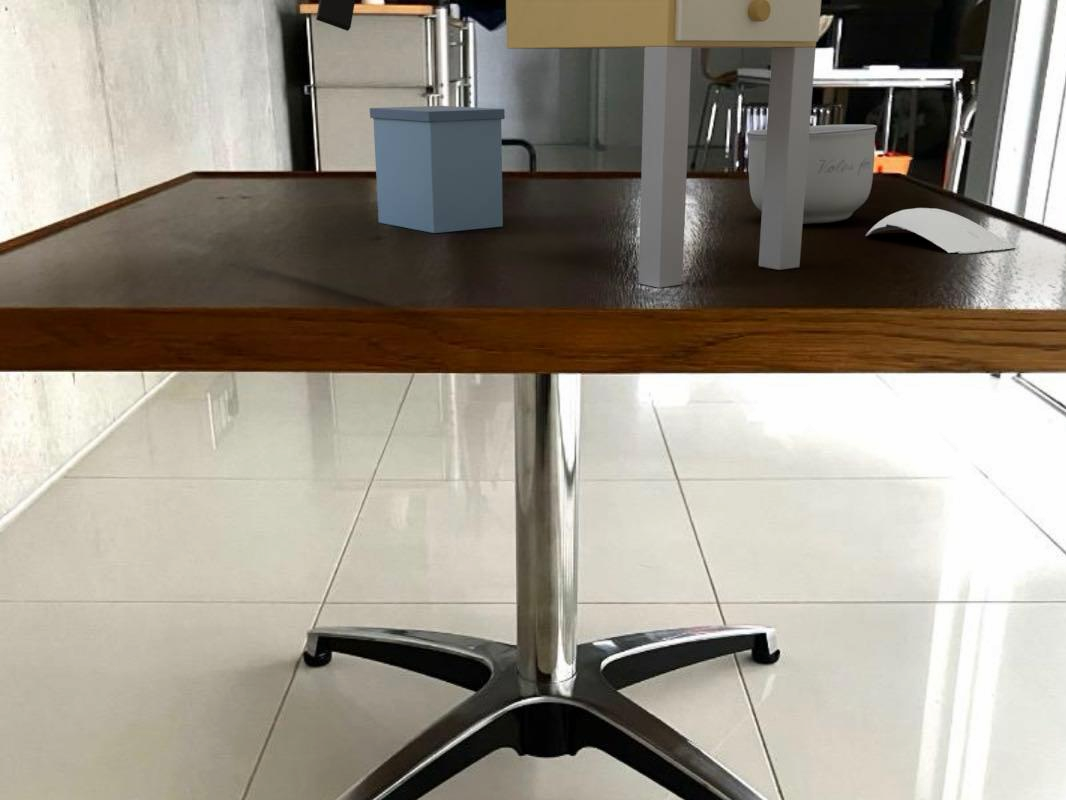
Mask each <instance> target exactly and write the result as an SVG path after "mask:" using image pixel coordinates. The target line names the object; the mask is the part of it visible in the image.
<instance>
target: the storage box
mask: <svg viewBox="0 0 1066 800" xmlns="http://www.w3.org/2000/svg"><path fill="white" fill-rule="evenodd" d="M505 114H506V113H505V108H496V107H495V108H492V107H475V106H473V107H472V106H453V105H427V106H426V105H425V106H423V105H422V106H393V107H392V106H391V107H390V106H389V107H388V106H387V107H369V118H370V119H373V136H374V140H373V141H374V156H375V176H376V178H375V179H376V196H377V197H376V198H377V215H378V223H379V224H384V225H387V226H393V227H394V226H395V227H400V228H404V229H410V230H414V231H420V232H425V233H431V234H442V233H453V232H461V231H471V230H482V229H491V228H493V229H494V228H500V227H501V228H502V227H503V226H504V220H503V219H504V216H503V215H504V212H503V211H504V210H503V157H502V156H503V146H502V145H503V144H502V142H503V139H502V120H505V117H506V116H505Z"/></svg>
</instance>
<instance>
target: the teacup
mask: <svg viewBox="0 0 1066 800" xmlns="http://www.w3.org/2000/svg"><path fill="white" fill-rule="evenodd" d="M877 130H878V125H875V124H865V123H864V124H862V123H861V124H855V123H853V124H851V123H850V124H849V123H848V124H845V123H844V124H822V125H819V124H818V125H810V130H809V144H808V157H807V171H806V184H805V198H804V212H803V225H808V224H809V225H810V224H825V223H826V224H827V223H835V222H842V221H844V220H847V219H849V218H850V217H852V216H853V213H854V212H855V211H857V210H858V209H859V208H861V206H863V205H864V203H865V202H866V201H867V200H868V199H869V196H870V194H871V190H872V186H873V180H874V179H873V178H874V167H875V147H876V146H875V145H876V133H877ZM746 137H747V139H748V182H749V184H748V185H749V194H750V197H751V201H752V203H753V205H754V206H755V207H756V208H757V209H758V210H759V211H761V212H762V202H763V185H764V169H765V153H766V137H767V128H764V129H754V130H749V131H747V133H746Z"/></svg>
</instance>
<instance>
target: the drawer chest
mask: <svg viewBox="0 0 1066 800" xmlns="http://www.w3.org/2000/svg"><path fill="white" fill-rule="evenodd" d="M821 8H822V0H505V17H506V19H505V21H506V23H505V24H506V27H505V28H506V49H507V50H509V49H511V50H513V49H514V50H515V49H517V50H518V49H519V50H520V49H521V50H523V49H524V50H526V49H527V50H529V49H530V50H532V49H533V50H534V49H535V50H538V49H540V50H544V49H545V50H549V49H550V50H552V49H553V50H555V49H556V50H559V49H560V50H563V49H564V50H566V49H567V50H585V49H586V50H605V49H606V50H611V49H612V50H644V56H643V57H644V60H643V61H644V62H643V92H642V93H643V96H642V99H643V101H642V133H641V135H642V136H641V173H640V174H641V175H640V180H641V181H640V211H639V212H640V214H639V248H638V250H639V251H638V252H639V253H638V254H639V255H638V284H639V285H643V286H647V287H648V286H649V287H654V288H658V289H661V288H669V287H674V286H675V287H676V286H681V285H683V279H684V278H683V277H684V275H683V274H684V251H685V248H684V247H685V223H686V199H687V197H686V196H687V195H686V194H687V175H688V174H687V173H688V172H687V171H688V150H689V149H688V147H689V126H690V125H689V123H690V122H689V121H690V97H691V95H690V94H691V74H692V73H691V72H692V71H691V70H692V49H746V48H747V49H753V48H754V49H756V48H757V49H758V48H771V57H770V72H769V74H770V75H769V90H768V104H767V105H768V106H767V121H766V129H767V137H766V153H765V169H764V185H763V202H762V211H761V218H760V219H761V221H760V234H759V251H758V252H759V254H758V267H759V268H765V269H770V270H776V271H783V270H790V269H796V268H800V265H801V264H800V263H801V252H802V250H801V249H802V240H803V239H802V238H803V237H802V236H803V225H804V224H803V212H804V198H805V184H806V171H807V157H808V144H809V130H810V126H811V117H812V101H813V91H814V90H813V88H814V75H815V62H816V61H815V60H816V47H817V43H818V42H819V37H820V22H821V21H820V20H821V10H822V9H821Z"/></svg>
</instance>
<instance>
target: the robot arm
mask: <svg viewBox="0 0 1066 800" xmlns="http://www.w3.org/2000/svg"><path fill="white" fill-rule="evenodd" d="M355 5H356V0H319V1H318V5H317V12H316V16H315V17H316V18H315V20H316V21H319V22H322V23H324V24H327V25H330V26H333V27H336V28H338V29H341V30H343V31H347V32H348V31H349V30H350V29H351V28H352V21H353V15H354V9H355Z"/></svg>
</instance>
